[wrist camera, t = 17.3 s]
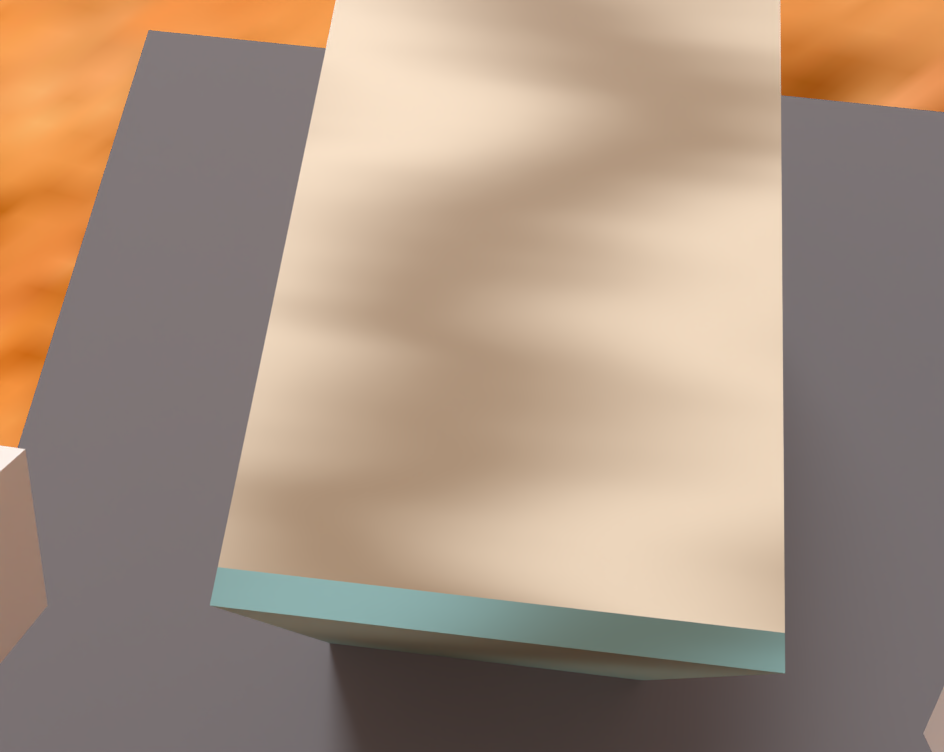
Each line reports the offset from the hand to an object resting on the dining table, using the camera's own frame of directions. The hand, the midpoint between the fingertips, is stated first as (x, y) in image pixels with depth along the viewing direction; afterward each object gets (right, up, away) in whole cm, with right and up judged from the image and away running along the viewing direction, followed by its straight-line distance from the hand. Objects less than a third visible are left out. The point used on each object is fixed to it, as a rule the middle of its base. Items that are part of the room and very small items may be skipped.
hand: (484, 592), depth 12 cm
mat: (+1, +2, +7) cm, 7 cm away
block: (+1, +10, +5) cm, 11 cm away
